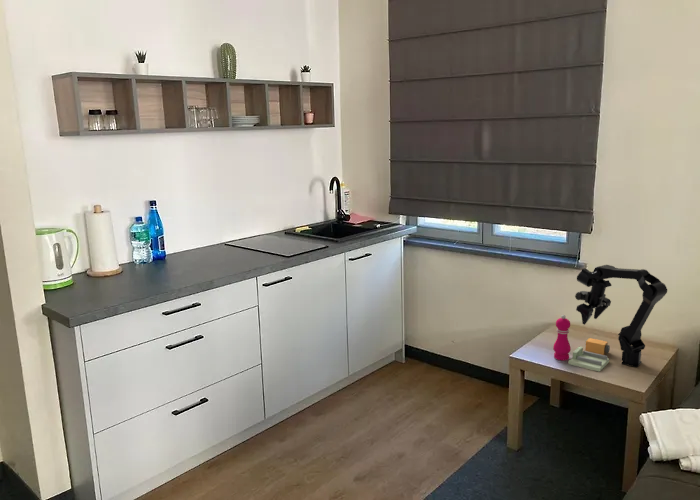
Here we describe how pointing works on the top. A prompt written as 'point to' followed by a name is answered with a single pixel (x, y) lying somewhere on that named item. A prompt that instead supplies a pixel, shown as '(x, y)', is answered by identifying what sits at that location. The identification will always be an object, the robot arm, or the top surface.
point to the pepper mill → (562, 339)
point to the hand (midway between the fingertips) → (589, 321)
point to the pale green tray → (588, 359)
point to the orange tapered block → (597, 346)
